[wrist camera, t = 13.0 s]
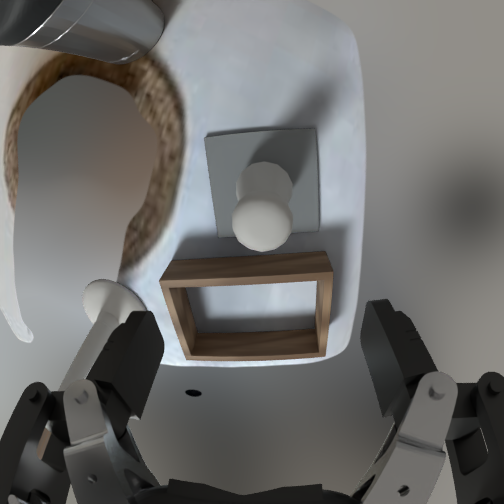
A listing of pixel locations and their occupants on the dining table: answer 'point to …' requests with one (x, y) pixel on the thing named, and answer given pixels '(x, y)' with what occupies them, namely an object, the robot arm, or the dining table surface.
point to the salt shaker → (263, 207)
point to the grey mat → (269, 150)
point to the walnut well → (249, 273)
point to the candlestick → (97, 330)
